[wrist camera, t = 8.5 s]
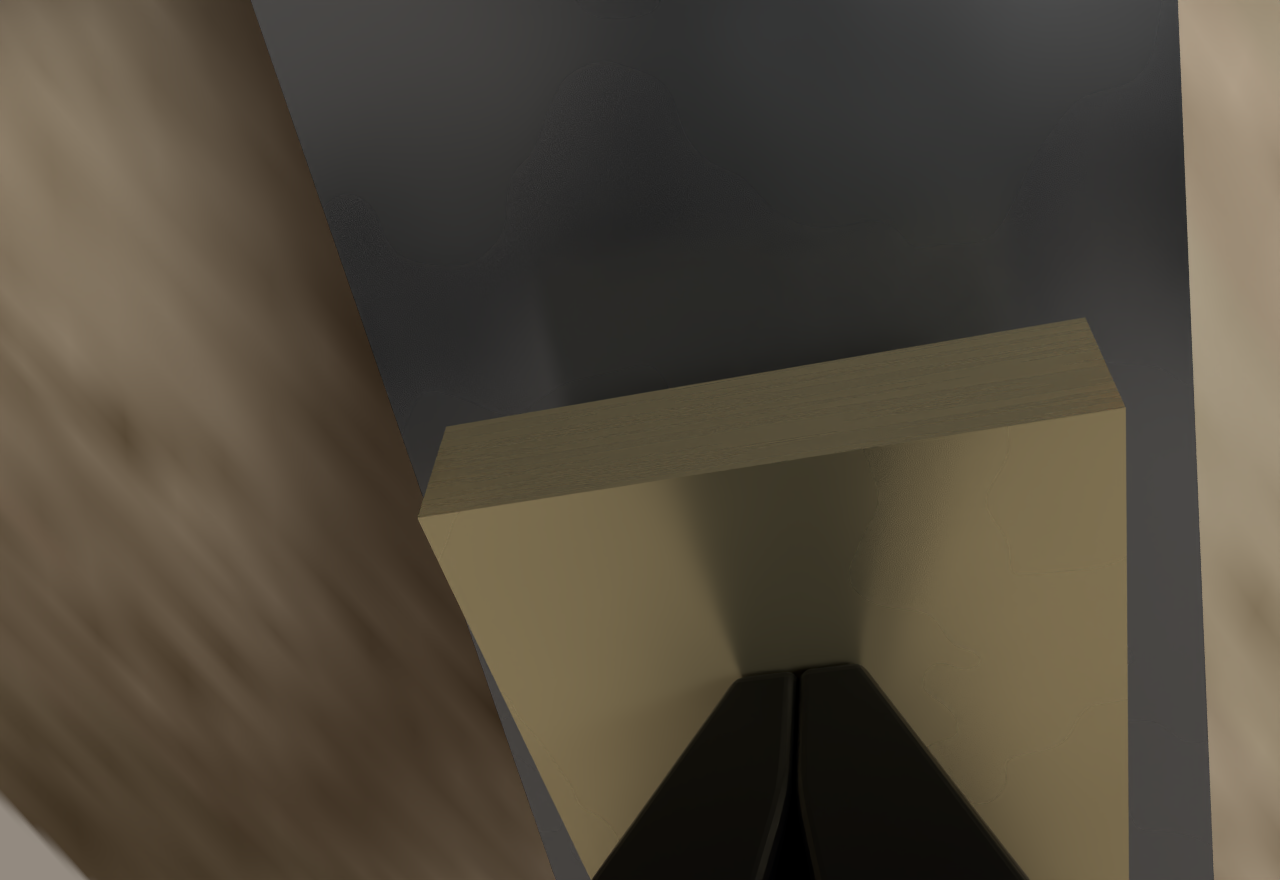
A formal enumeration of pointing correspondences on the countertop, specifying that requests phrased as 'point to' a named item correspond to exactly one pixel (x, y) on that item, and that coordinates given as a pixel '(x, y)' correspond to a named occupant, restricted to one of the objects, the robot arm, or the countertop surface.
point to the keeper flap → (817, 573)
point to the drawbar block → (775, 240)
